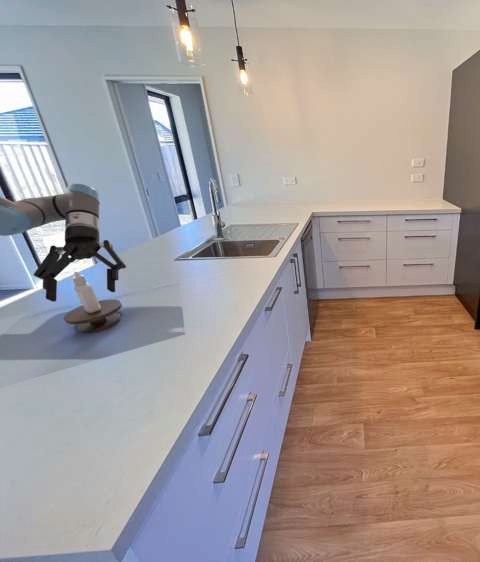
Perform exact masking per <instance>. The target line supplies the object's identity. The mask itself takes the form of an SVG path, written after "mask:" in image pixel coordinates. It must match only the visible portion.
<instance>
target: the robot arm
mask: <svg viewBox="0 0 480 562" xmlns="http://www.w3.org/2000/svg"><path fill="white" fill-rule="evenodd" d="M99 196H100V195H99V192H98V191H97V189H95V188H94V187H92V186H90V185H88V184H84V183H71V184H70V185H67V187H66V189H65V193H60V194H55V195H48V196H39V197H28V198H23V199H19V200H17V201H11V200H10V199H7V198H6V197H3V196H1V195H0V236H2V237H8V236H14V235H18V234H23V233H26V232H27V231H30V230H32V229H35V228H38V227H41V226H44V225H45V226H46V225H48V224H51V223H54V222H55V223H56V222H60V221H61V222H62V221H64V223H65V224H64V228H65V229H64V243H65V244H64V245H63V246H56V245H51V246H50V247H49V252H48V254H47V255H46V256H45V258H44V259H43V260H42V262H41V263H40V265H38V267H37V269H36V270H35V271H34V273H33V276H34V277H36V278H37V279H39V280H42V289H43V290H45V299H46V300H48V301H50V302H57V291H58V290H57V289H58V279H56V277H58V275H59V274H61V272H62V271H64V270H65V269H66V268H67V267H68V266H69V265H71V264H72V263H74V262H76V261H82V260H89V259H92V258H93V257H94V258H96V259H97V260H99V261H100V262H101V263H103V264H104V265H106V266H107V267H108V268H106V290H107V291H109V292H111V293H115V292H116V281H118V280H120V279H119V271H120V270H121V269H123V270H124V269H126V268H127V265H126V264H125V262H124V261H123V260H122V259H121V257H120V256H119V255H118V254H117V252H116V251H115V250H114V246H113V244H112V243H111V241H109V240H108V239H105V240H103V242H100V204H101V202H100V197H99ZM101 248H102V249H104V250H105V251H106V252H107V253H108V254H109V256H111V258H112V259H113V261H114V262H115V264H114V263H113V262H111V261H109V260H108V259H107V258H106V257H104V256H102V255H101V254H100V253H98V252H99V251H100V250H101Z"/></svg>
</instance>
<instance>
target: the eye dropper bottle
mask: <svg viewBox="0 0 480 562" xmlns="http://www.w3.org/2000/svg"><path fill="white" fill-rule="evenodd" d="M71 279H72V281H73V284H74V291H75V293H76V296H77V297H78V299H79V300H80V303H81V306H82V305H83V307H84V309H85V311H86V312H88V313H94V312H97V311H99V310H101V306H100V304H99V302H98V301H99V299H98V298H97V295H96V293H95V291H94V290H93V289H94V288H93V287H92V285H91V284H90V283H89V282H87V280H86V278H85V276H84V275H83V274H80V273H79V272H78V271H74V272H73V277H71Z"/></svg>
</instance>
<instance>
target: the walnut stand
mask: <svg viewBox="0 0 480 562" xmlns="http://www.w3.org/2000/svg"><path fill="white" fill-rule="evenodd" d="M98 302H99V304H100V306H101V310H99V311H97V312H94V313H88V312H86V311H85V309H84V307H83V305H82V304H81V305H80V306H78V307H75V308H73V309H71V310H70V311H68V312H67V313H66V314H65V315H64V316H63V320H64V322H65V323H66V324H68V325H76V329H77V331H78V333H80V334H92V333H97V332H98V333H99V332H102V331H104V330H107V329H109V328H112V327H113V326H115V325H116V324H118V323H119V322H120V321H121V320H122V317H121V315H120V313H118V312H119V311H120V310H121V309H122V308H123V304H122V302H121V301H120V300H119V299H112V298H110V299H102V300H98Z"/></svg>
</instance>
